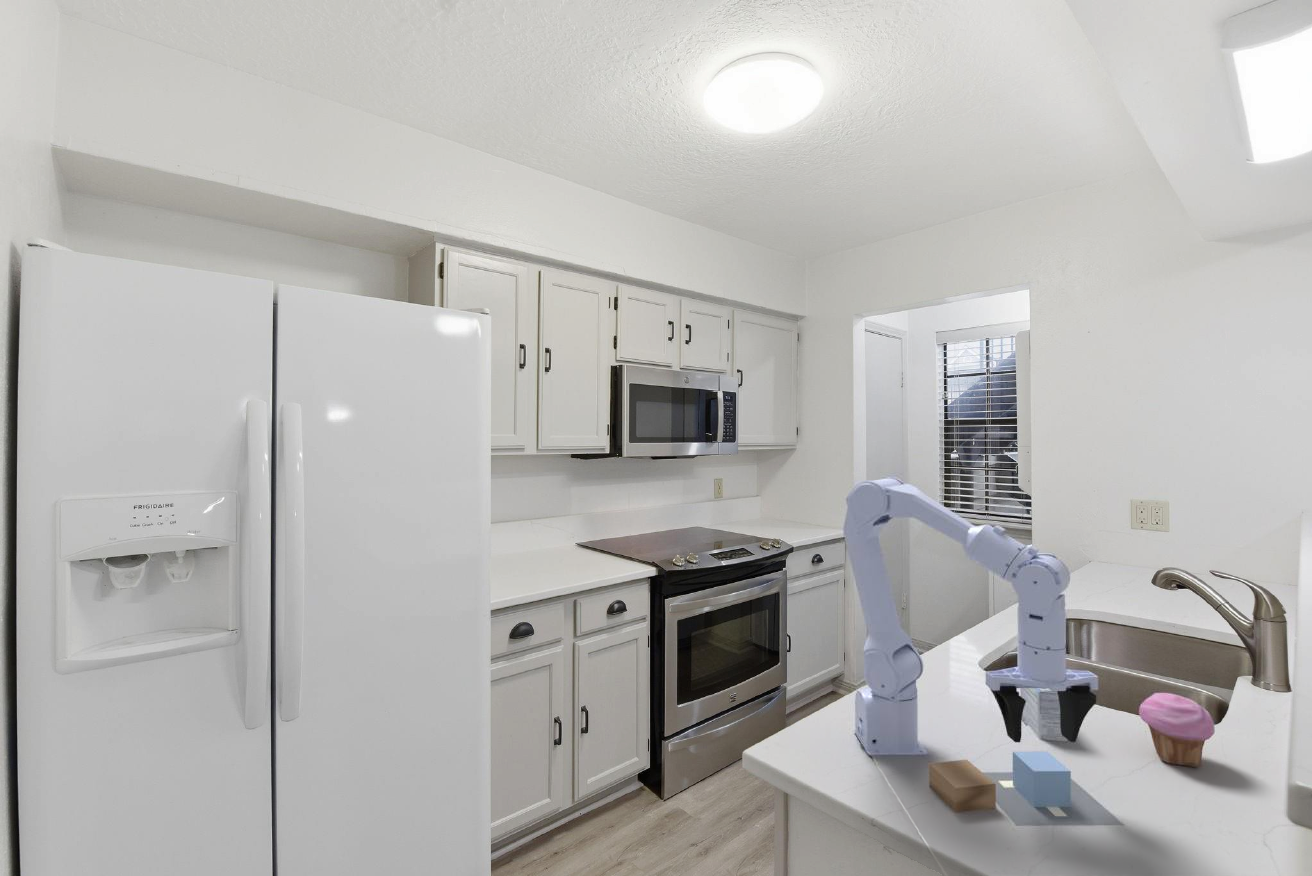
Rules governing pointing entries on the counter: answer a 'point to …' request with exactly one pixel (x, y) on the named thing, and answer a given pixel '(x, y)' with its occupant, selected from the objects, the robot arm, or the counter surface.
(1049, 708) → the medicine box
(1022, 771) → the blue cube
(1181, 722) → the cupcake
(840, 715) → the counter surface
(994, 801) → the walnut block
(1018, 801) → the board
